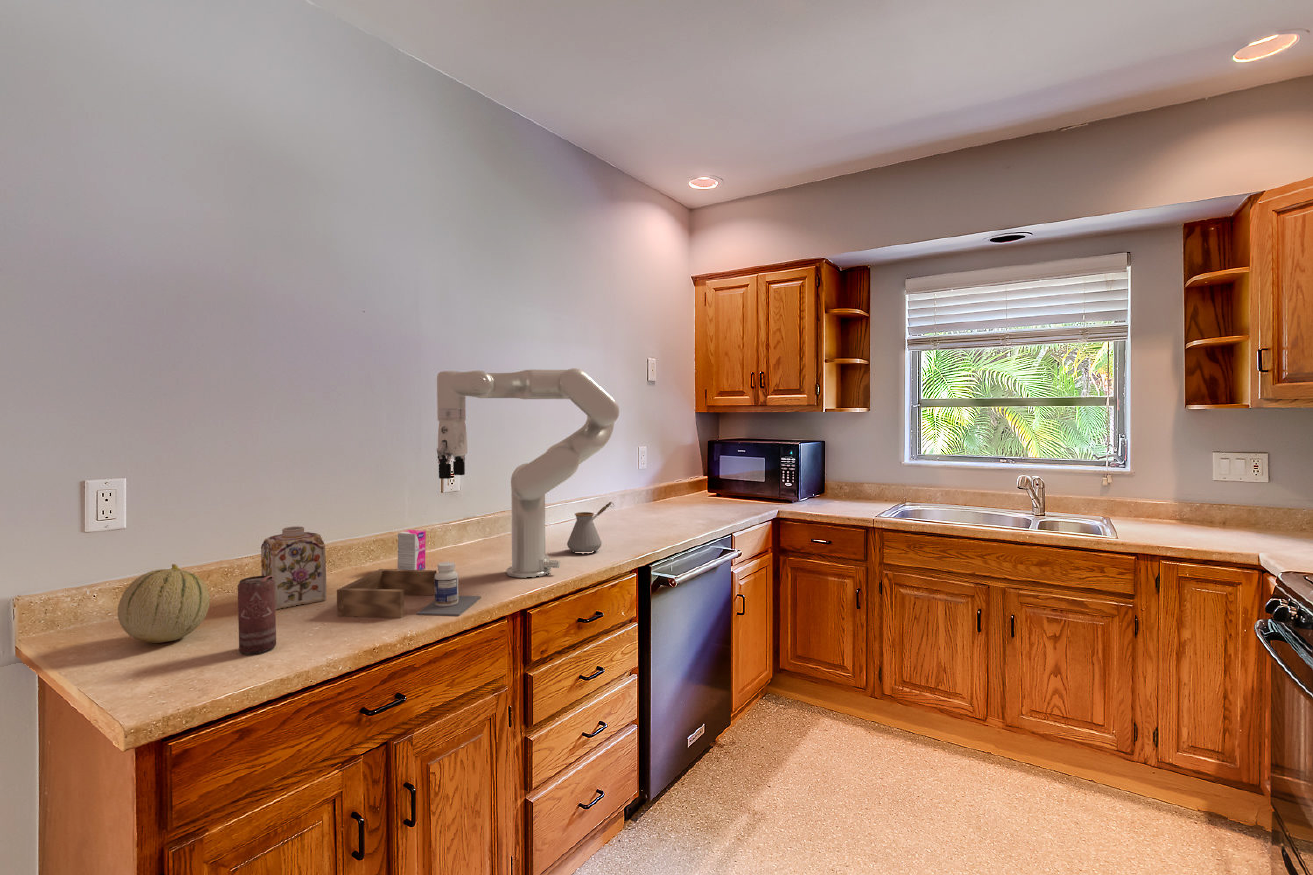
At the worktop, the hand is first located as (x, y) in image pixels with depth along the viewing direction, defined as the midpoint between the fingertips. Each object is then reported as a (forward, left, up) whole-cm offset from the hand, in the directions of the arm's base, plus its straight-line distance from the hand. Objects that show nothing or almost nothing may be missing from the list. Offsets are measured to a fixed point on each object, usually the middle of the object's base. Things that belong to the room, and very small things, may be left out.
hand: (452, 476), depth 176 cm
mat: (-10, +26, -28) cm, 40 cm away
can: (+16, +56, -28) cm, 65 cm away
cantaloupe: (+38, +53, -28) cm, 71 cm away
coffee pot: (-33, -39, -28) cm, 58 cm away
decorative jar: (+30, +25, -29) cm, 48 cm away
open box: (+5, +26, -28) cm, 39 cm away
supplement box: (+15, -6, -28) cm, 33 cm away
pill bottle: (-9, +26, -28) cm, 39 cm away
